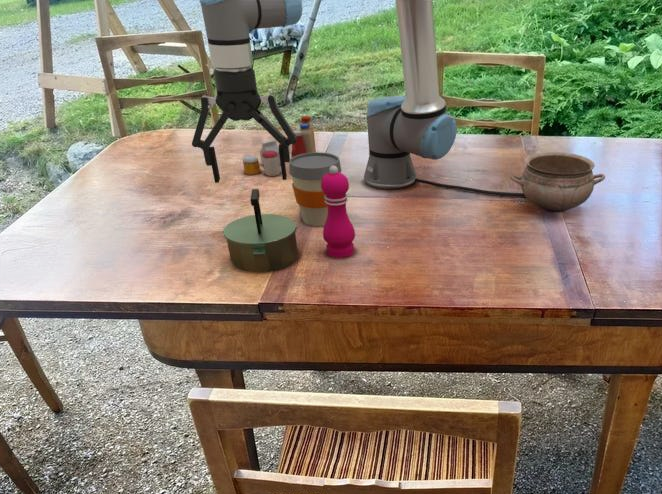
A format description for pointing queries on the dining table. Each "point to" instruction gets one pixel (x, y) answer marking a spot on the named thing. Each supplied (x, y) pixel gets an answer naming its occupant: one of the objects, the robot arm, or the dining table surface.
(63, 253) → the dining table surface
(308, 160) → the reusable coffee cup
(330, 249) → the pepper mill
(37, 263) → the dining table surface
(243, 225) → the lid
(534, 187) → the cooking pot
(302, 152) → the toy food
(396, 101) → the robot arm
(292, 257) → the pot
